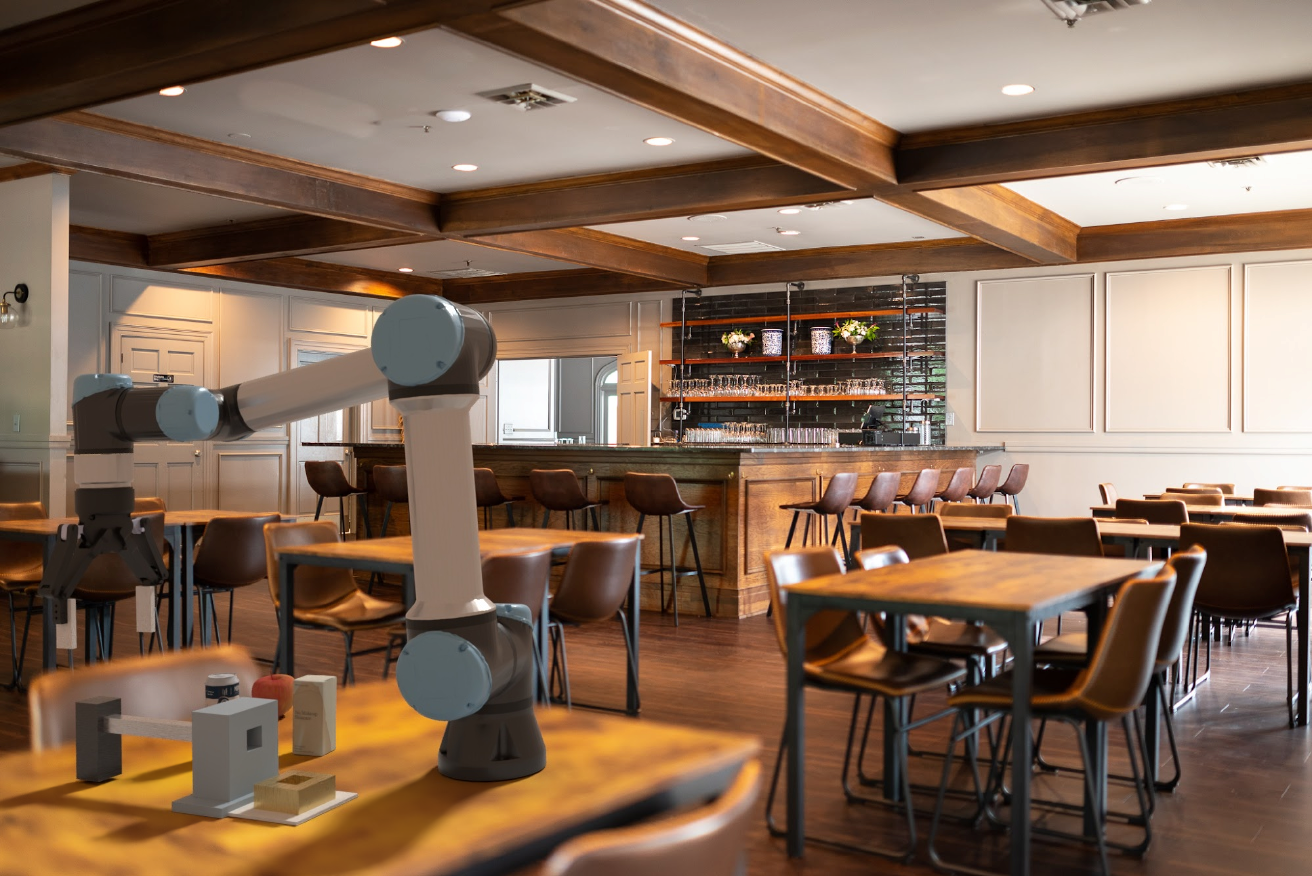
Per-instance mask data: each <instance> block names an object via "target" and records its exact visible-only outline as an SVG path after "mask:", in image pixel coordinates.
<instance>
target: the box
mask: <svg viewBox="0 0 1312 876" xmlns="http://www.w3.org/2000/svg"><path fill="white" fill-rule="evenodd" d="M294 679H295V680H293V706H292V752H291V753H292V754H293V755H301V756H314V757H323V756H326V755H327V754H329V753H331V752H333V751H335V750H336V749H337V685H338V684H337V682H338V681H337V680H338V678H337V676H335V675H324V674H322V675H320V674H317V675H316V674H315V675H314V674H307V675H304V676H300V677H298V678H294Z"/></svg>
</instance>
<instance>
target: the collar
mask: <svg viewBox="0 0 1312 876" xmlns="http://www.w3.org/2000/svg"><path fill="white" fill-rule="evenodd" d="M336 785H337V784H336V774H331V773H330V774H329V773H321V772H314V771H308V770H307V771H305V770H300V769H299V770H296V769H290V770H287V771H285V772H282V773H280V774H279V775H277V776H274V777H272V778H269V779H267V780H264V781H262V782H259V783H256V784H254V809H259V810H266V811H273V812H280V813H287V814H294V815H300V814H302V813H305V812H307V811H309V810H311V809H314V808H316V807H318V806H320V805H323V804H325V803H327V802H329V801H331V800H334V799H336V791H337V790H336Z"/></svg>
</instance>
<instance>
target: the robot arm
mask: <svg viewBox="0 0 1312 876" xmlns="http://www.w3.org/2000/svg"><path fill="white" fill-rule="evenodd" d="M497 353H498V339H497V337H496V332H495V329H494V327H493V326H492V324H491V322H489V319H488V318H486V317H485V315H483V314H482V313H481V312H480V311H479V310H477V309H475V308H473V307H471V306H468V305H465V304H461V303H459V302H454V301H451V300H449V299H446V298H445V297H443V296H440V295H436V294H418V293H417V294H410V295H405V296H403V297H400V298H398V299H396V300H394V301H392V302H391V303H390V304H389V305H387V307H385V309H384V310H383V311H382V313H380V314H379V315H378V318H377V319H376V321H375V323H374V326H373V328H372V332H371V337H370V347H366V348H364V349H363V348H362V349H359V350H356V351H351V352H348V353H345V354H340V355H338V356H334V357H330V358H326V359H323V360H319V361H316V362H313V363H308V364H305V365H302V366H298V367H295V368H291V369H287V370H284V371H280V372H275V373H273V374H269V375H265V376H261V377H258V378H254V379H250V380H247V381H244V382H242V383H236V384H233V385H230V386H227V387H222V388H216V389H213V388H212V389H211V388H207V387H204V386H201V385H190V384H189V385H188V384H185V385H184V384H176V385H167V386H152V387H134V385H133V379H132V378H131V375H128V374H124V373H106V372H105V373H84V374H80V375H78V376H76V377H75V379H74V380H73V384H72V385H73V387H72V402H71V409H72V410H71V412H72V413H71V414H72V424H73V443H74V450H73V469H74V470H73V474H74V475H73V477H74V478H73V479H74V483H75V484H76V485H79V487H78V488H75V490H74V491H73V492H74V513H75V514H76V515H77V516H78V523H77V524H76V523H60V524H59V525H57V531H56V542H55V544H54V547H53V549H52V552H51V555H50V557H49V560H48V562H47V565H46V568H45V570H44V572H43V574H42V575H43V576H42V577H41V581H40V583H39V586H38V587H37V595H38V596H39V597H45V599H47V600H51V608H52V609H51V614H52V617H51V619H52V620H51V621H52V622H53V624H54V625H55V626H56V627H55V629H56V631H55V632H56V633H55V634H56V636H55V637H56V649H64V650H65V649H66V650H74V649H77V648H78V647H77V604H76V603H77V602H76V601H77V600H76V598H70V597H71V596H72V595H73V592H74V591H75V589H76V588H77V586H78V585H79V583H80V582H81V580H82V578H83V576H84V575H85V574H86V572H87V570H88V569H89V567H90V565H91V563H92V562H93V560H94V559H97V558H98V557H99V555H107V554H109V553H115V554H118V555H119V556H120V558H121V560H123V562H124V563H125V564H126V566H127V567H128V569H130V570H129V571H131V572H132V574H133V575H134V576H135V578H136V579H137V580H138V581H139V583H140V584H141V585H136V586H135V607H136V608H135V611H136V612H135V613H136V614H135V615H136V617H135V618H136V621H135V622H136V633H138V632H139V633H155V632H156V612H155V611H156V608H157V605H158V586H162V585H163V584H164V580H168V578H169V575H170V574H169V571H168V569H167V567H166V564H165V562H164V559H163V556H162V555H161V552H160V550H159V547H158V545H157V541H156V540H155V538H154V536H153V534H152V527H151V519H150V518H149V517H132V516H131V514H133V513H134V512H135V510H136V501H135V500H136V497H135V496H136V495H135V492H136V491H135V488H134V487H133V486H131V484H132V483H134V481H135V462H134V461H135V458H134V453H135V451H134V445H135V444H134V443H140V442H178V443H184V442H186V443H187V442H188V443H190V442H209V441H210V442H223V443H224V442H225V443H231V442H232V443H233V442H237V441H242V440H247V439H248V438H250V437H251V436H252V435H253V434H254V433H257V432H261V431H265V430H268V429H272V428H276V427H280V426H284V425H287V424H292V423H295V422H299V421H303V420H306V419H311V418H314V417H319V416H321V415H322V416H323V415H326V414H330V413H334V412H337V411H338V412H339V411H341V410H344V409H348V408H352V407H353V408H354V407H356V406H360V405H364V404H367V403H368V404H369V403H372V402H375V401H379V400H383V399H386V398H387V399H388V403H389V405H390V406H391V407H392V408H394V409H395V410H396V411H397V412H398V413H399V414H400V415H401V419H402V429H403V439H404V440H403V441H404V453H405V454H404V455H405V466H406V467H405V468H406V481H407V493H408V506H409V507H408V508H409V521H410V534H411V547H412V559H413V572H414V573H413V574H414V587H415V588H414V589H415V599H416V600H415V602H414V604H413V605H412V606H411V607H410V608H409V610H408V611H407V612H406V614H405V627H406V639H407V641H406V644H405V645H404V647H403V648H402V650H401V651H400V654H399V656H398V659H397V662H396V666H395V678H396V684H397V687H398V690H399V692H400V695H401V696H402V698H403V699H404V701H405V702H406V704H407V705H408V706H409V707H411V709H413V710H414V711H415V712H416V713H418V714H420V715H421V716H423V717H425V718H427V719H429V720H434V721H439V722H446V724H445V725H446V726H445V729H444V733H443V736H442V738H441V743H440V745H439V750H438V752H437V770H438V772H439V774H441V775H444V776H445V777H448V778H452V779H456V780H463V781H471V782H472V781H473V782H474V781H476V782H486V781H487V782H489V781H491V782H492V781H503V780H511V779H518V778H521V777H525V776H529V775H532V774H534V773H537V772H539V771H541V770H543V769H544V768H545V767H546V766H547V747H546V744H545V741H544V737H543V735H542V732H541V728H540V726H539V723H538V720H537V717H536V714H535V711H534V673H533V672H534V668H533V667H534V663H533V662H534V661H533V659H534V658H533V653H534V652H533V650H534V648H533V647H534V645H533V641H534V640H533V632H534V623H533V619H532V618H533V617H532V610H531V609H530V607H529V606H528V605H526V604H523V603H494V602H493V601H491V599H489V598H488V597H487V596H486V595H485V593H484V586H483V574H482V573H483V572H482V559H481V549H480V547H481V546H480V535H479V523H478V521H479V520H478V510H477V508H478V507H477V495H476V483H475V471H474V470H475V469H474V457H473V456H474V455H473V443H472V442H473V441H472V431H471V419H470V411H471V408H472V407H474V405H475V404H476V403H477V401H479V399H480V398H481V397H480V395H481V394H480V393H481V392H480V382H481V381H482V380H484V378H485V377H486V376H487V375H488V374H489V373H490V371H491V370H492V368H493V366H494V364H495V361H496V359H497ZM131 534H132V536H131ZM79 539H80V540H79ZM78 540H79V541H78Z"/></svg>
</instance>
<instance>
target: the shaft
mask: <svg viewBox="0 0 1312 876" xmlns="http://www.w3.org/2000/svg"><path fill="white" fill-rule="evenodd" d="M74 703H75V704H74V705H75V707H74V708H75V765H76V766H75V767H76V768H75V769H76V770H75V776H76V778H75V780H79V781H80V780H81V781H86V782H87V781H88V782H95V783H99V782H102V781H106V780H108V779H111V778H114V777H115V778H116V777H117V776H121V775H123V756H122V755H123V754H122V753H123V751H122V750H123V749H122V748H123V747H122V746H123V745H122V744H123V742H122V740H123V739H122V737H123V735H127V736H136V737H144V738H151V739H153V738H154V739H162V740H170V741H171V740H172V741H181V742H188V743H192V721H187V720H186V721H185V720H176V719H167V718H166V719H165V718H157V717H156V718H155V717H149V716H148V717H147V716H137V715H127V714H122V697H115V696H106V695H105V696H104V695H97V696H94V697H90V698H87V699H81V700H78V701H75V702H74Z"/></svg>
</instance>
